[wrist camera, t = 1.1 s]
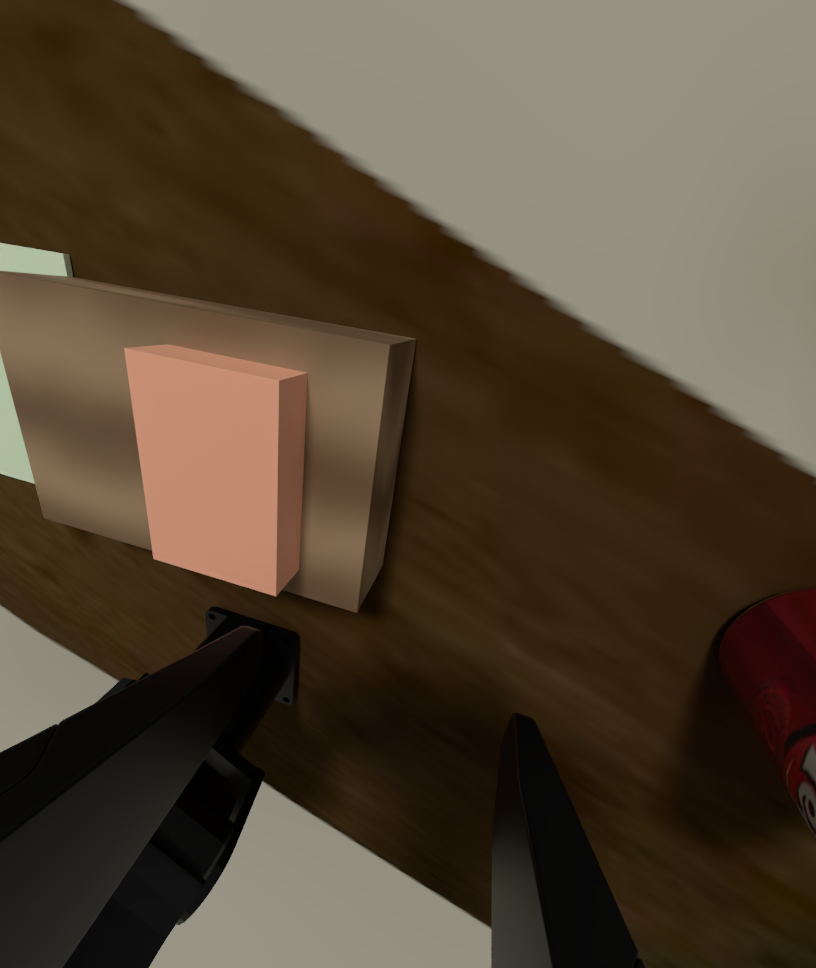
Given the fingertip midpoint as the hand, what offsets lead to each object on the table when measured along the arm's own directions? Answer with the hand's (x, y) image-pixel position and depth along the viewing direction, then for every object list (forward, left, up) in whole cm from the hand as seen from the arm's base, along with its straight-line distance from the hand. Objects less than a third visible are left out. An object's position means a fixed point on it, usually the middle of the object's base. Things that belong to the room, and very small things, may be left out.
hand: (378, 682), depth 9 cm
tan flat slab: (0, +12, -12) cm, 17 cm away
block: (0, +9, -8) cm, 12 cm away
